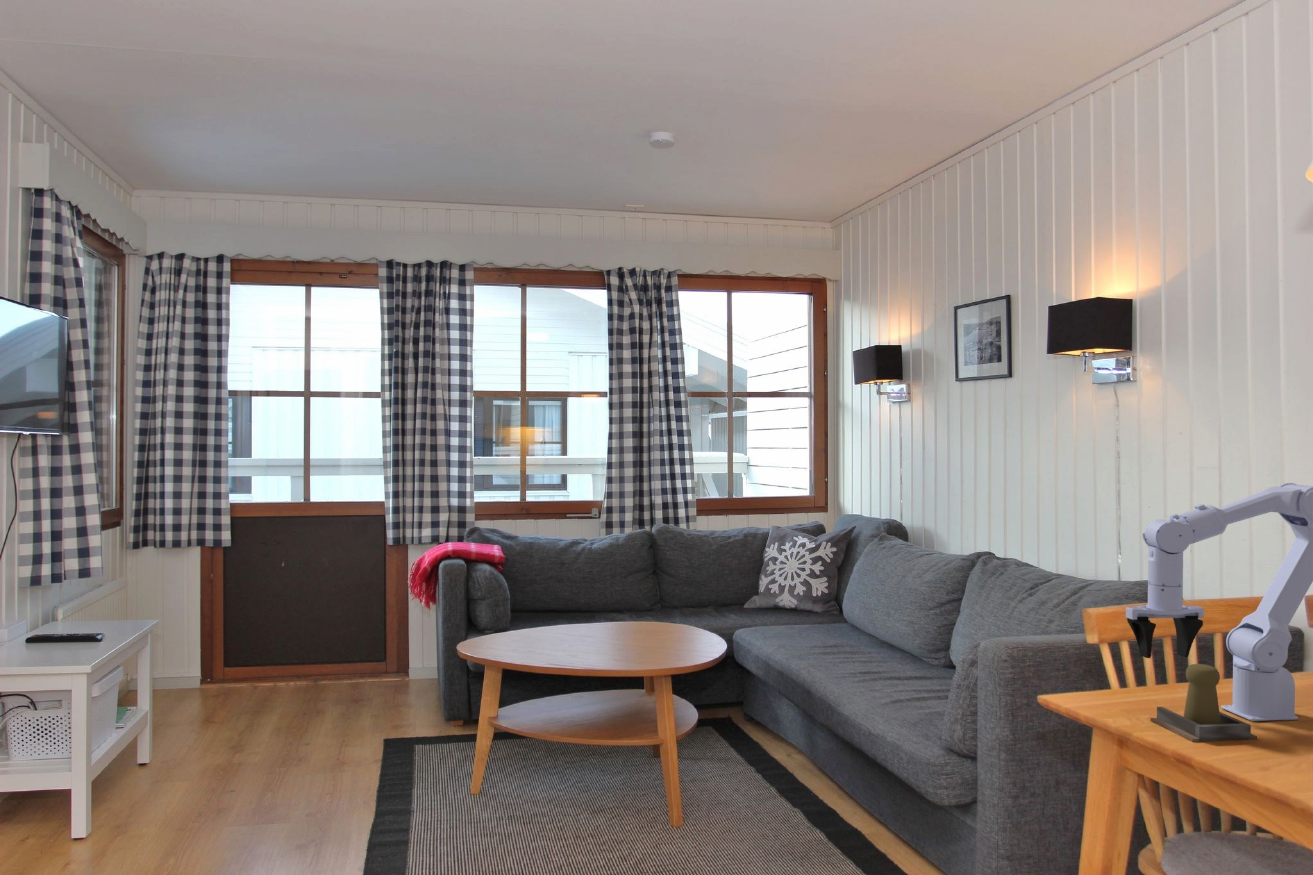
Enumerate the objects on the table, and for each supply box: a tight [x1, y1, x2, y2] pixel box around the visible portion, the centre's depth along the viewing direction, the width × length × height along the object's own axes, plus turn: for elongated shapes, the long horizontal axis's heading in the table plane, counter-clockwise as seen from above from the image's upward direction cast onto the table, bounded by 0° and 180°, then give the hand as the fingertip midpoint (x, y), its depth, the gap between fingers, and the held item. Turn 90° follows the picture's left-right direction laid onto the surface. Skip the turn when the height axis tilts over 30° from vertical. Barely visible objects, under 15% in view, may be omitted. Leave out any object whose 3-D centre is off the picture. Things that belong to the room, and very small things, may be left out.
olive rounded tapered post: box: [1183, 663, 1221, 725], centre depth 161 cm, size 6×6×11 cm
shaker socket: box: [1149, 706, 1258, 743], centre depth 161 cm, size 12×11×2 cm
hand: (1164, 656), depth 171 cm, fingers open, 7 cm apart
